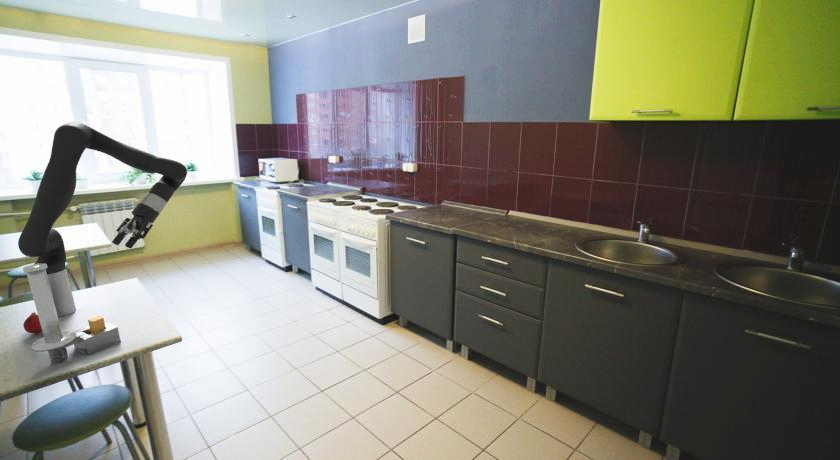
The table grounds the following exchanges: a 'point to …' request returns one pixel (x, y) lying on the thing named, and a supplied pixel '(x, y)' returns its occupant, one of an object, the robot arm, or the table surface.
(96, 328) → the orange block
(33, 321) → the pomegranate
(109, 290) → the table surface
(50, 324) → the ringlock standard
